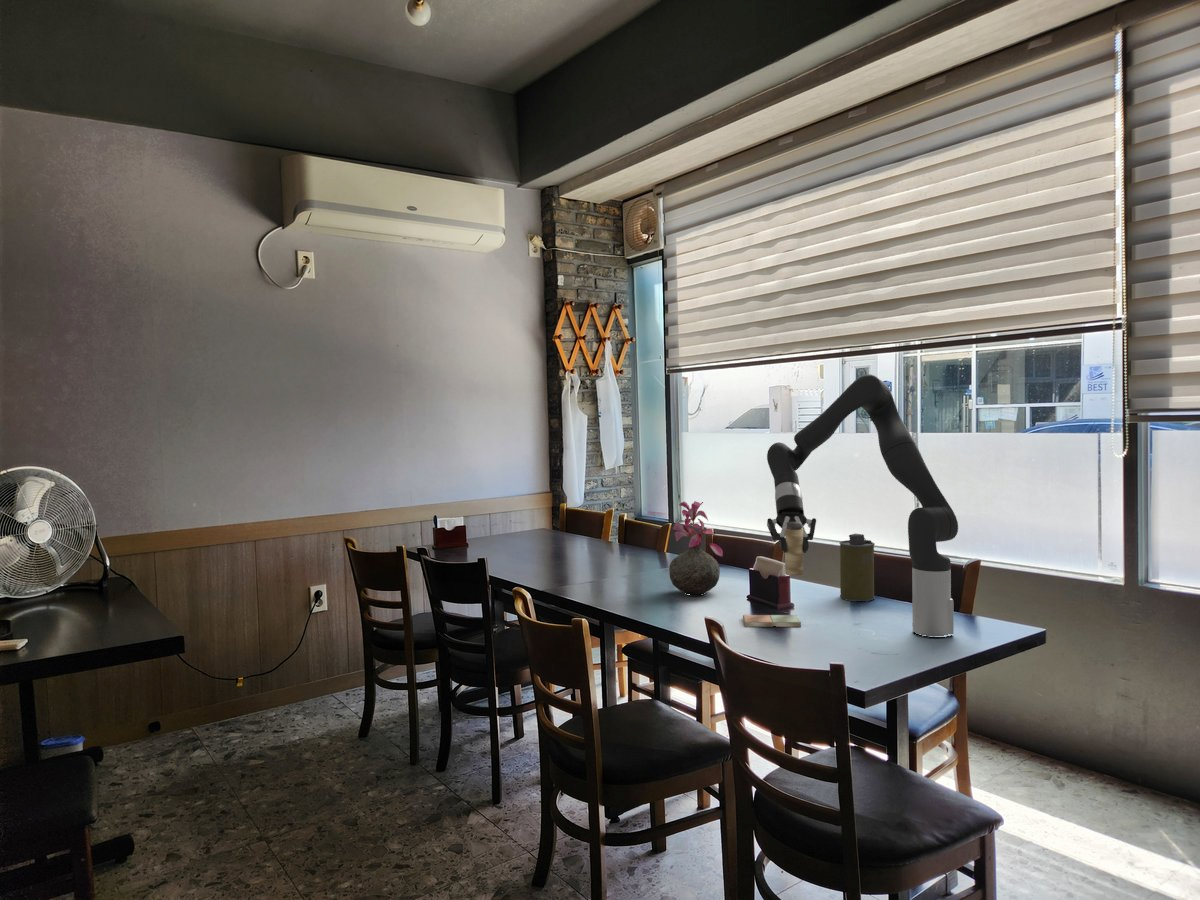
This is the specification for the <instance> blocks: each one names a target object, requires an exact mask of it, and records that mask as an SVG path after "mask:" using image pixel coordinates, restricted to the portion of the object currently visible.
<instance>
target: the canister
mask: <svg viewBox="0 0 1200 900" xmlns="http://www.w3.org/2000/svg"><path fill="white" fill-rule="evenodd" d="M848 537H849V539H848V540H841V541H839V553H840V554H839V558H840V560H839V561H840V563H839V564H840V565H839V568H840V569H839V571H840V573H839V575H840V579H839V580H840V581H839V582H840V588H839V589H840V593H839V598H840V597H841V598H840V599H842V598H843V599H842V600H844V599H847V600H854V601H853V602H856V601H866V602H871V601H870V600H872V601H874V600H875V599H874V597H875V542H873V541H872V540H869V539H866V538H865V534H862V533H861V534H860V533H852V534H849V535H848ZM873 599H874V600H873ZM847 600H846V601H847Z"/></svg>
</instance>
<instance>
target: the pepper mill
mask: <svg viewBox="0 0 1200 900" xmlns="http://www.w3.org/2000/svg"><path fill="white" fill-rule="evenodd" d="M785 538H786V547H787V550H786V553H784V554H785V555H784V557H785V558H784V560H785V561H784V562H785V563H784V564H785V565H784V566H785V567H784V569H785V570H784V571H785V575H787V576H802V575H804V553H803V528H802V523H801V522H787V528H785Z"/></svg>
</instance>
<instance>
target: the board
mask: <svg viewBox="0 0 1200 900" xmlns="http://www.w3.org/2000/svg"><path fill="white" fill-rule="evenodd" d="M742 620H743V624H744V626H745V627H765V628H766V627H772V628H773V626H776V628H777V627H782V628H783V627H785V628H787V627H792V628H793V627H794V628H801V627H802V624H801V623H802V622H801V621H800V619H799V618H798V616H797V614H796V615H795V614H792V615H791V614H770V615H769V614H743V615H742Z"/></svg>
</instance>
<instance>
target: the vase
mask: <svg viewBox="0 0 1200 900" xmlns="http://www.w3.org/2000/svg"><path fill="white" fill-rule="evenodd" d="M703 503H704V502H703V501H702V502H699V501H693V503H691V507H690V505H689V504H688V503H687V502H686V501H682V502H680V503H679V504H678V506H680V507H681V506H682V507H684V508H685V509H682V511H681V513H682V516H683V517H685V518H684V525H683V524H682V523H681V522H680V521H676V522H675V523H674V526H673V527H672V530H674V537H675V540H676V542H679V540H680V539H681V538H683V537H687V538H688V537H689V538H690V540H689V543H688V546H687V547H688V548H689V549H688V550H686V551H684V552H682V553H680V554H678V555H676V557H674V558H673V559H672V560H671V562H670V563H669V568H668V571H669V572H668V574H669V579H670V582H671V583H672V585H673V586H674V587H675V588H676V589H677V590H679V591H681V592H683V593H686V594H690V595H701V594H704V593H705V594H706V593H707V592H709V591H711V590H712V589H713V588H715V587H716V586H717V584H718V582H719V580H720V573H721V572H720V564H719V562H718V561H717V560H716V559H715V558H714V557H713V556H712V555H710V554H709V553H707V552H706V551H704V550H703V548H702V541H703V536H702V535H708V534H709V535H712V536H714V537H716V534H715V533H714V532H713V530H712V529H706V530H704V529H705V523H704V521H702V520H701V519H700V518H698V516H701V517H702V518H705V519H706V520H707V521H709V519H708V516H707V514H706V512H705V511H704V510H699V508H700V507H701V506H702V505H703ZM696 519H697V520H698V522H699V523H700V524H698V523H697V522H696V523H695V520H696ZM691 521H692V522H691ZM696 529H699V532H700V533H698V531H696ZM675 531H676V532H675ZM708 544H709V547H710V549H711V550H712V551H713V553H714V554H715V555H717V556H719V557H724V551H723V549H722V548H721V547H720V546H719V545H718V544H716V543H714V542H708Z"/></svg>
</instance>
